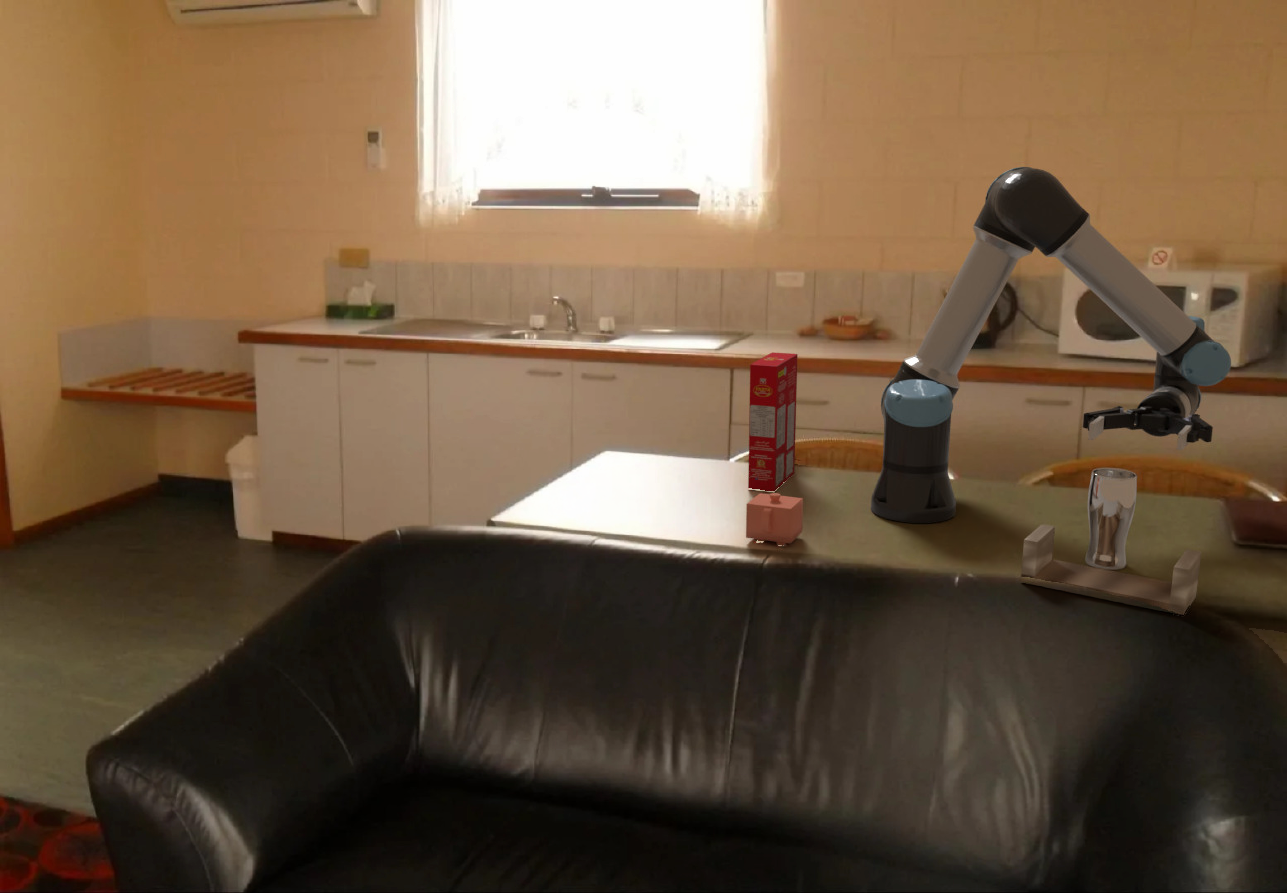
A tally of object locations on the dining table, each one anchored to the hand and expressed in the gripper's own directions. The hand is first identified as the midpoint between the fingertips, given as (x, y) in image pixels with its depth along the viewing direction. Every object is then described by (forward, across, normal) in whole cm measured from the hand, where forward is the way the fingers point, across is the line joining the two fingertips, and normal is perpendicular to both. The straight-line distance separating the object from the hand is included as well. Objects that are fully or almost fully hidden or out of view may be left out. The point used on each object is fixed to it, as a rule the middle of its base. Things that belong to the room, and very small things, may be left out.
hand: (1134, 436), depth 184 cm
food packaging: (-1, +68, -18) cm, 70 cm away
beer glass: (+10, +1, -19) cm, 21 cm away
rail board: (+22, -2, -19) cm, 29 cm away
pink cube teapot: (+29, +50, -18) cm, 61 cm away
